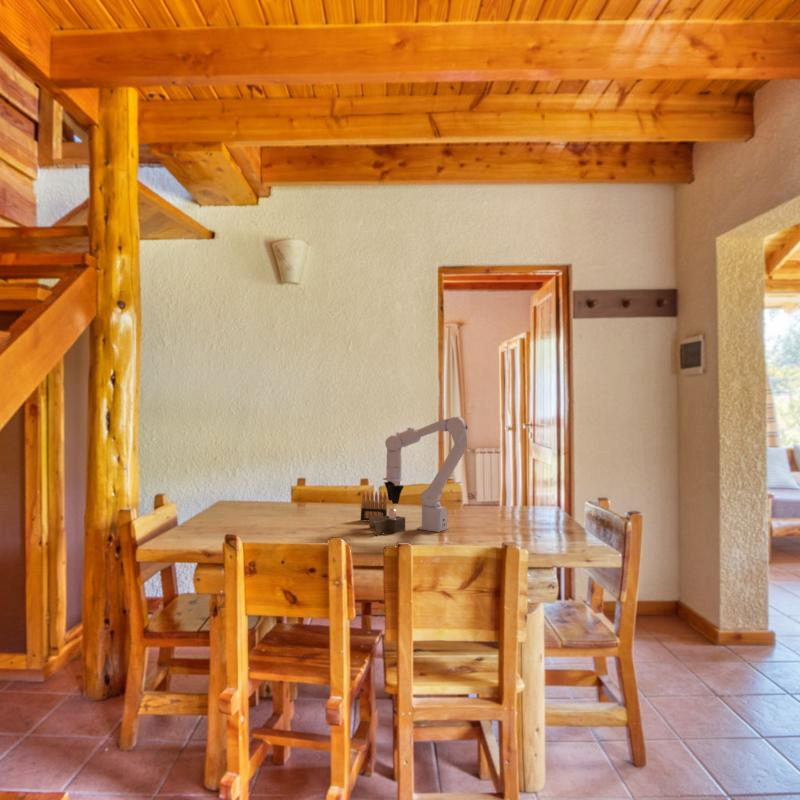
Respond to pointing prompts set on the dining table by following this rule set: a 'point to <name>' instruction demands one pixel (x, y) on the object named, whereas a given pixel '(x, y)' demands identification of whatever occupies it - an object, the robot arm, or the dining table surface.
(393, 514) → the pin
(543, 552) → the dining table surface
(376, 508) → the ammunition clip
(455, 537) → the dining table surface
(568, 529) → the dining table surface
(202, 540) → the dining table surface
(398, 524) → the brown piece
